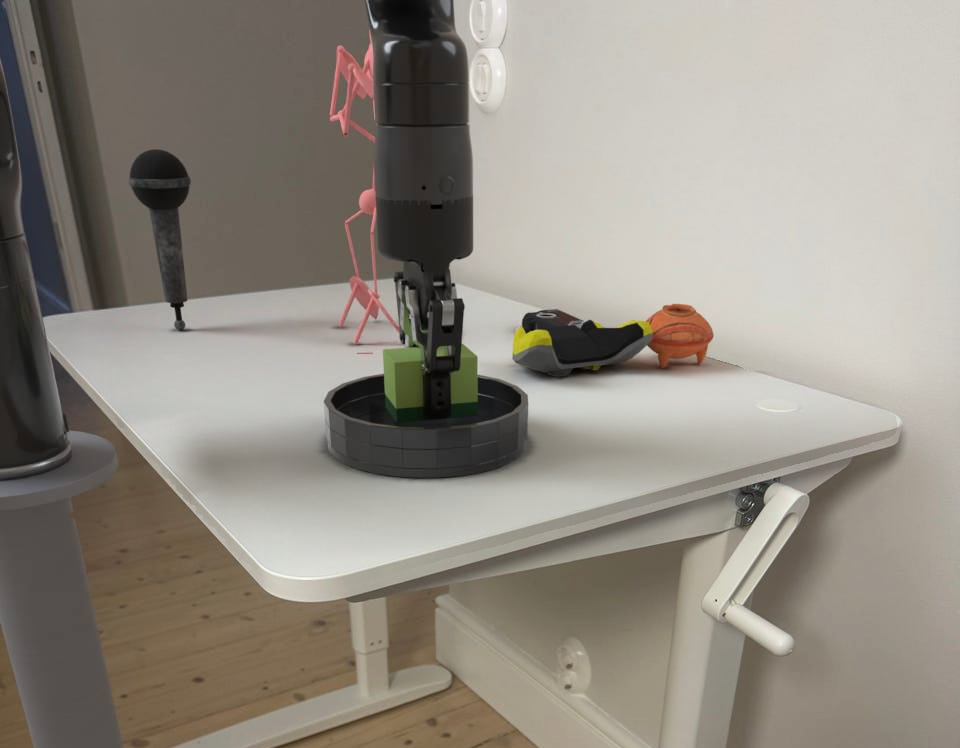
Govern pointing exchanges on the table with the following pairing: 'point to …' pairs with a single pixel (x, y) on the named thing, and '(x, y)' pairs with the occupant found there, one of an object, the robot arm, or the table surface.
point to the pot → (679, 333)
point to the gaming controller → (579, 346)
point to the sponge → (408, 384)
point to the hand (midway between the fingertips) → (430, 408)
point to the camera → (549, 319)
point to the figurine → (362, 86)
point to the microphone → (164, 217)
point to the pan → (425, 432)
